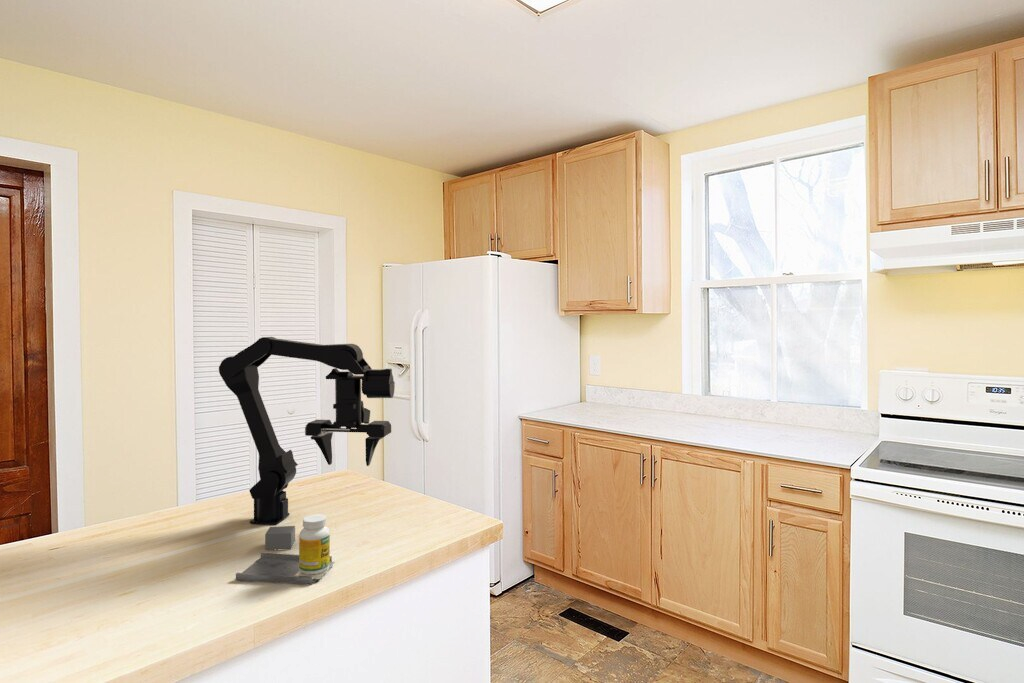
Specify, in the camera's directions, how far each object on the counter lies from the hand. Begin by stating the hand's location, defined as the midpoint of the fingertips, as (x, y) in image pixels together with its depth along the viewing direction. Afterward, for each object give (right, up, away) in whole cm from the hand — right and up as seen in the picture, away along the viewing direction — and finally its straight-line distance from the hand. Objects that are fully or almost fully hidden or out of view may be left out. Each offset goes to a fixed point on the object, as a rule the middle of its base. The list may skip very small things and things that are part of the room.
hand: (349, 465), depth 130 cm
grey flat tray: (-4, -14, -26) cm, 30 cm away
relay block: (-10, -14, -14) cm, 22 cm away
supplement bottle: (+1, -14, -26) cm, 29 cm away
